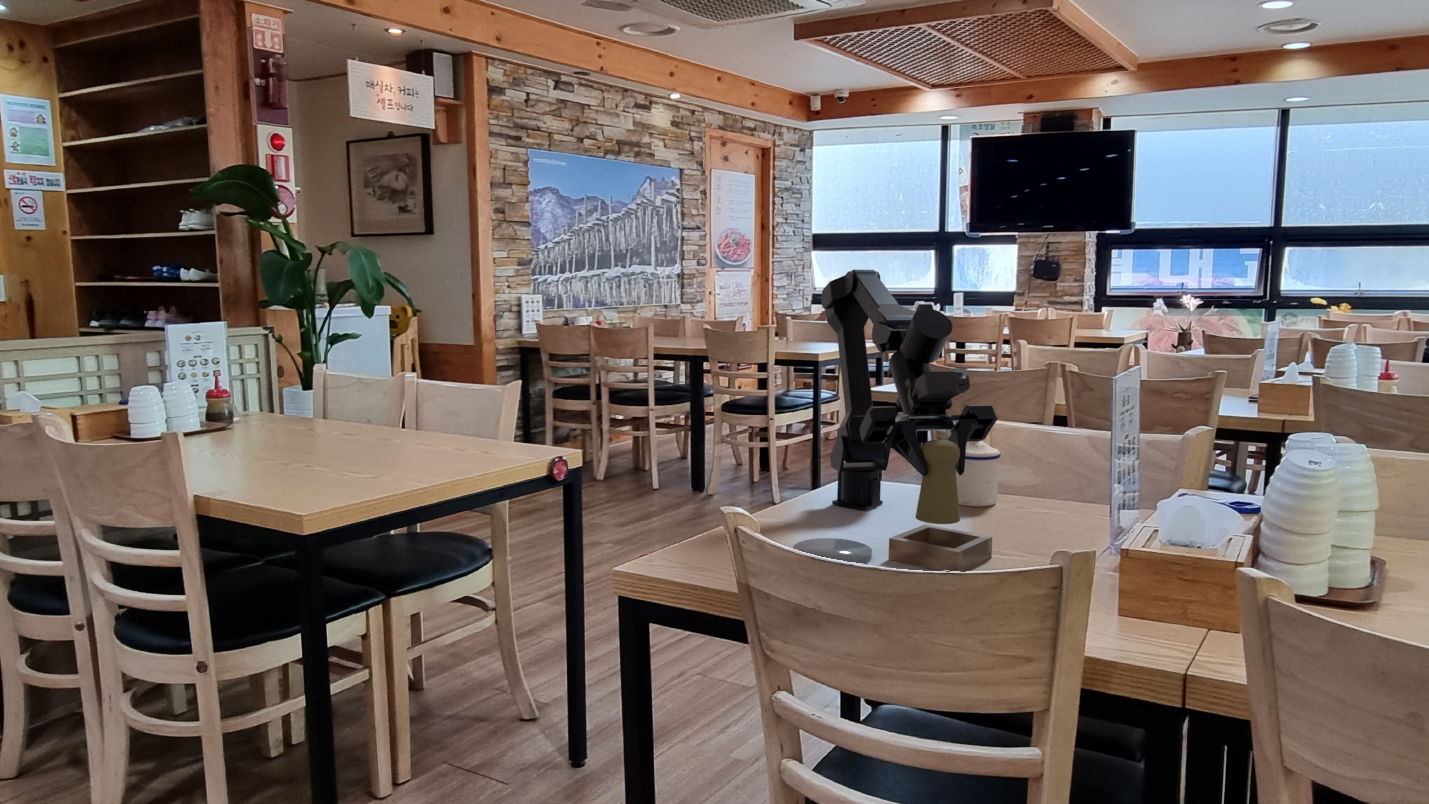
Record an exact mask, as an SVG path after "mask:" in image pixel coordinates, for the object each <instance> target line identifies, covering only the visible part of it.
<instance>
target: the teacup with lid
mask: <svg viewBox="0 0 1429 804" xmlns="http://www.w3.org/2000/svg"><path fill="white" fill-rule="evenodd" d="M1001 456H1002V455H1001V452H1000V450H999V449H997V448H996V447H991V446H990V445H989V444H988V443H986V442H984V441H983V440H982V441H968V442H967V443H966V455H965V470H964V473H963V474H962V475H959V474H958V472H957V471H956V480H957V491H958V503H959V506H963V507H964V506H965V507H977V508H979V507H980V508H981V507H982V506H983V507H990V506H993V505H995V504H996V503H997V501H998V488H999V485H998V484H999V465H1000V458H1001Z"/></svg>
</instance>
